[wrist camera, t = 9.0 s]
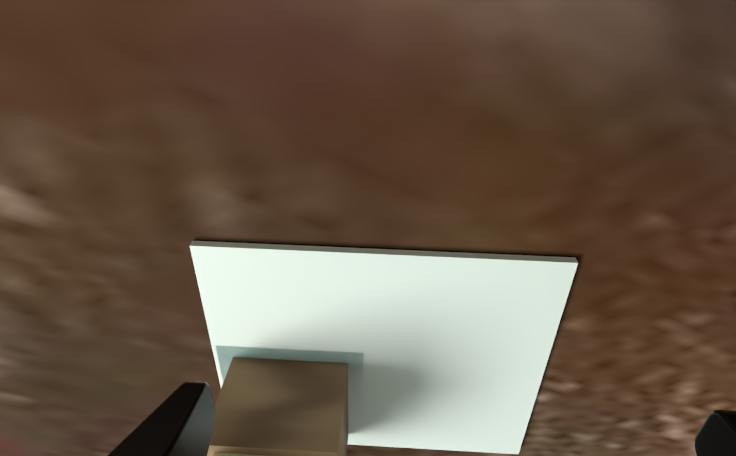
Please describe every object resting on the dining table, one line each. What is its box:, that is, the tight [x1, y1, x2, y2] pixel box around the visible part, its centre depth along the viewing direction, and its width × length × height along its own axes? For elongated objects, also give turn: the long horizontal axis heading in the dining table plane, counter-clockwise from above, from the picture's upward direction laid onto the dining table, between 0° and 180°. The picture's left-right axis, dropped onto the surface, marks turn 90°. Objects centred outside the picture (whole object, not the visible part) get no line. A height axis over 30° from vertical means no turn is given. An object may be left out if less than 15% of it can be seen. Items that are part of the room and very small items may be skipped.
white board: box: [190, 241, 578, 454], centre depth 25 cm, size 17×14×1 cm
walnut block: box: [207, 357, 348, 456], centre depth 25 cm, size 6×6×5 cm
